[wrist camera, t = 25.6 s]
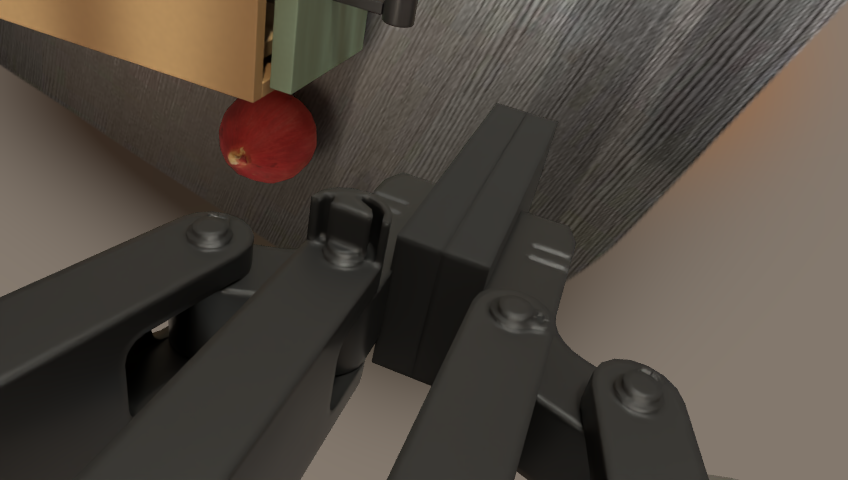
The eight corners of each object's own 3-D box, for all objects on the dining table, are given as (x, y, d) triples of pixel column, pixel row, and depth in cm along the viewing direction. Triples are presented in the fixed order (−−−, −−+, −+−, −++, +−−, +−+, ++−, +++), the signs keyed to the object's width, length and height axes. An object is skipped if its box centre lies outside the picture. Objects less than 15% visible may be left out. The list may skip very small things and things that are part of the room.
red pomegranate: (300, 171, 46) (237, 224, 40) (243, 106, 45) (169, 150, 39) (353, 126, 43) (294, 176, 37) (294, 55, 42) (222, 93, 35)
